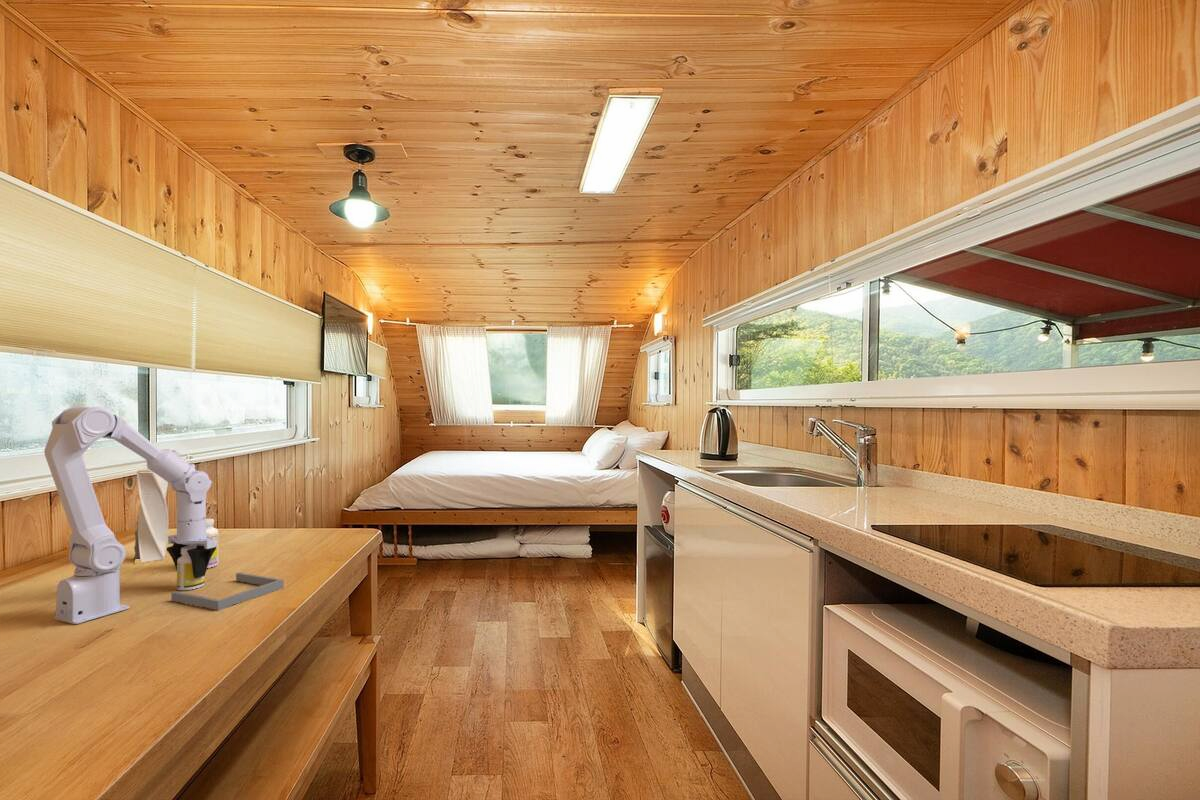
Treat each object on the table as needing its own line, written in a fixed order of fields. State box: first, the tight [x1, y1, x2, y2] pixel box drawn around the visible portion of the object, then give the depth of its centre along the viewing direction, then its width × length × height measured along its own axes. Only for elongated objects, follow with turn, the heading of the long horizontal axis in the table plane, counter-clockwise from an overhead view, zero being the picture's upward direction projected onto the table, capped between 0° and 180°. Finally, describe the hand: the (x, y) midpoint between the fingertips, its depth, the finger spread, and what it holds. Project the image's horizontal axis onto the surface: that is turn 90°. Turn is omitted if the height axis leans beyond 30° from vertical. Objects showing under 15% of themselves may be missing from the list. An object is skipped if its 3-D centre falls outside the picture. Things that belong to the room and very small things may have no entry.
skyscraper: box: [133, 468, 170, 563], centre depth 157 cm, size 8×8×28 cm
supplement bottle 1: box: [176, 546, 206, 591], centre depth 133 cm, size 5×5×10 cm
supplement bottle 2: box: [206, 518, 219, 569], centre depth 149 cm, size 7×7×13 cm
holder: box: [170, 572, 285, 611], centre depth 128 cm, size 16×16×2 cm
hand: (191, 575), depth 133 cm, fingers open, 5 cm apart
